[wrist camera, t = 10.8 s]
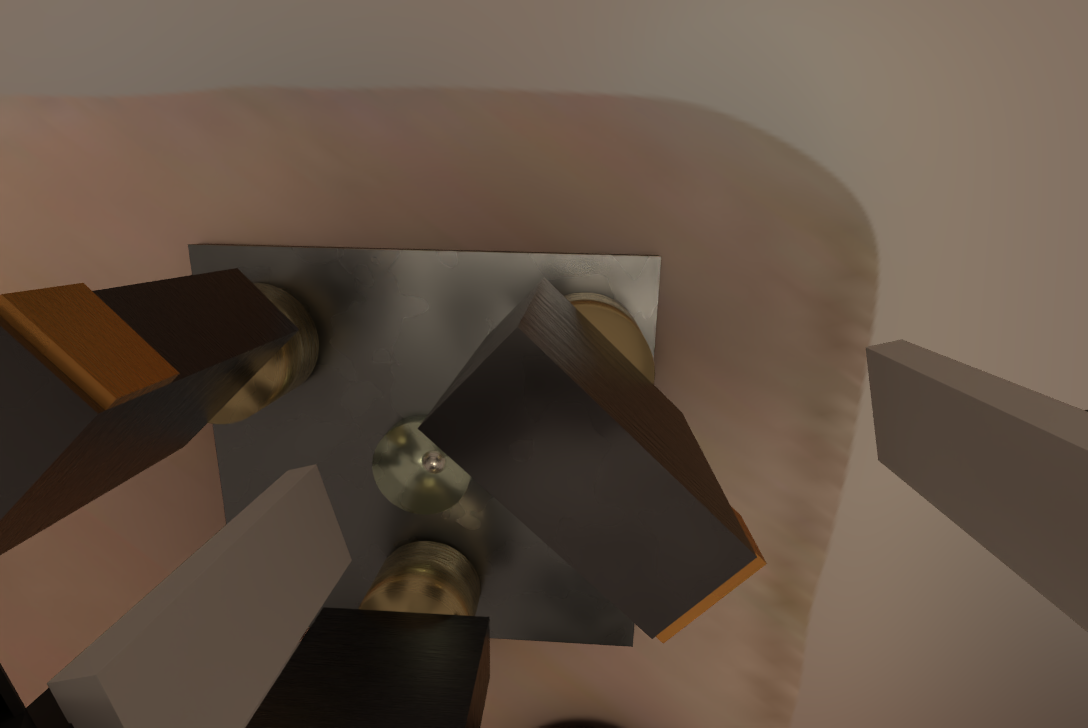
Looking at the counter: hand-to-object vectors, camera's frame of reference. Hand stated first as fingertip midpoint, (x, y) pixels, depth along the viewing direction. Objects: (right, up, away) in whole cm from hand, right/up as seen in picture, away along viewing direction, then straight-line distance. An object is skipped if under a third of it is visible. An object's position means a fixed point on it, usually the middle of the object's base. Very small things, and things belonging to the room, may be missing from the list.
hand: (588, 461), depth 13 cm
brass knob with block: (+1, +3, +11) cm, 11 cm away
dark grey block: (-13, +3, +12) cm, 18 cm away
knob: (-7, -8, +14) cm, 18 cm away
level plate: (-6, -2, +14) cm, 15 cm away
